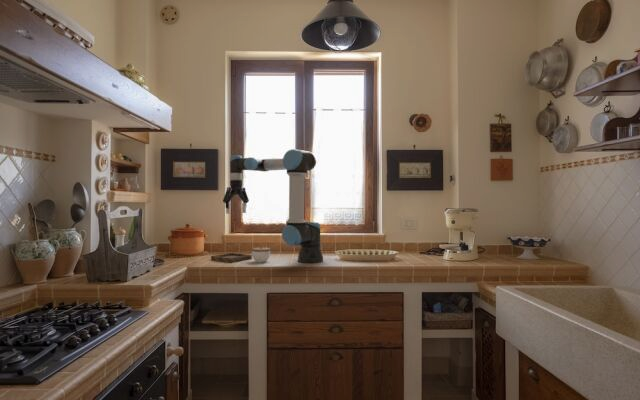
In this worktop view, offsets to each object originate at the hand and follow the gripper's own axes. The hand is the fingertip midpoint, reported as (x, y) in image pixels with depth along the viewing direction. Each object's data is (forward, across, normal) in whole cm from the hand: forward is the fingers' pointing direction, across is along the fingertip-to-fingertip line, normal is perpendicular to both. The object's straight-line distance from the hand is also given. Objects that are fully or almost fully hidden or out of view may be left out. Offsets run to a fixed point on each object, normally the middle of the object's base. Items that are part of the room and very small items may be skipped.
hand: (236, 213), depth 249 cm
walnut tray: (+28, +10, +6) cm, 30 cm away
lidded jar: (+28, +6, +26) cm, 39 cm away
